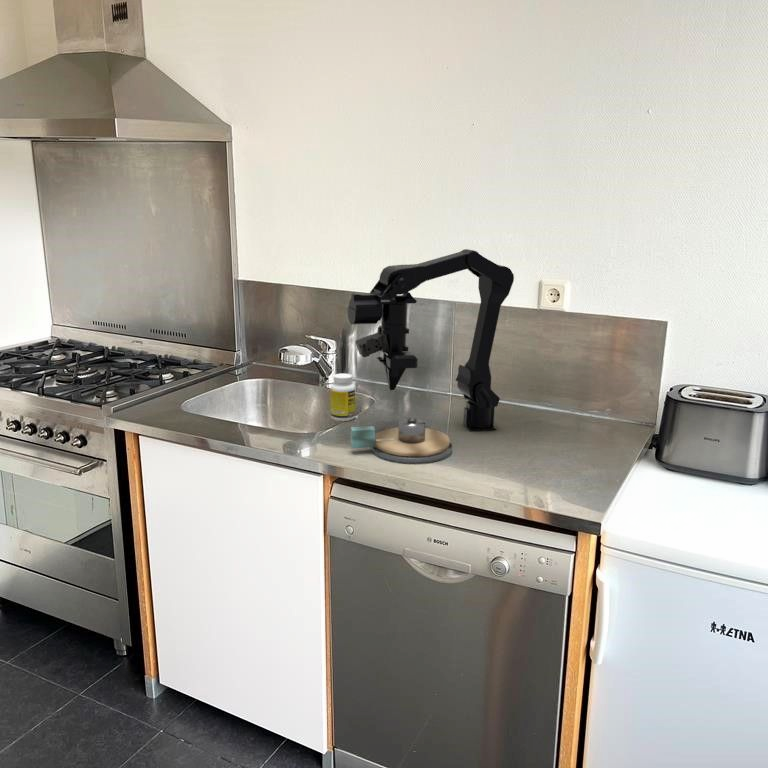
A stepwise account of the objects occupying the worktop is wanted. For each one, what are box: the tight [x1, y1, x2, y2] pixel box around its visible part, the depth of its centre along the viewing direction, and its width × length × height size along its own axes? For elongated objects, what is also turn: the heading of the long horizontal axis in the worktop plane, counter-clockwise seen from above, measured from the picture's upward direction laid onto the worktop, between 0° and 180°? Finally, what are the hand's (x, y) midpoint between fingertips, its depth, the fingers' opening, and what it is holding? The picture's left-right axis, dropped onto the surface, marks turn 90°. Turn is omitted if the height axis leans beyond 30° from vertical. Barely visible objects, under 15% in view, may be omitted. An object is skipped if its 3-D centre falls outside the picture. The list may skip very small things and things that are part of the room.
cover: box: [397, 416, 427, 444], centre depth 169 cm, size 6×6×5 cm
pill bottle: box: [330, 373, 356, 422], centre depth 191 cm, size 6×6×11 cm
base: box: [370, 442, 453, 465], centre depth 171 cm, size 18×18×1 cm
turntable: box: [350, 425, 451, 457], centre depth 169 cm, size 22×17×4 cm
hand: (391, 389), depth 176 cm, fingers closed
